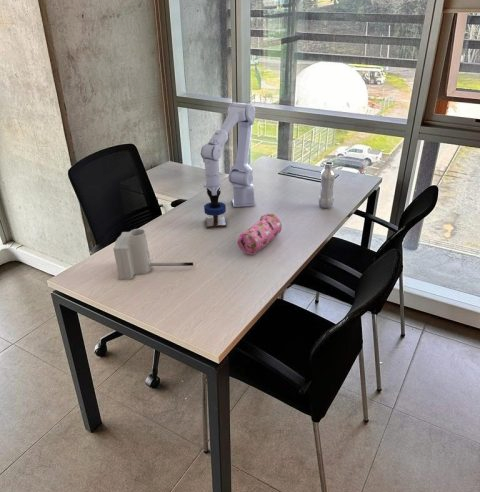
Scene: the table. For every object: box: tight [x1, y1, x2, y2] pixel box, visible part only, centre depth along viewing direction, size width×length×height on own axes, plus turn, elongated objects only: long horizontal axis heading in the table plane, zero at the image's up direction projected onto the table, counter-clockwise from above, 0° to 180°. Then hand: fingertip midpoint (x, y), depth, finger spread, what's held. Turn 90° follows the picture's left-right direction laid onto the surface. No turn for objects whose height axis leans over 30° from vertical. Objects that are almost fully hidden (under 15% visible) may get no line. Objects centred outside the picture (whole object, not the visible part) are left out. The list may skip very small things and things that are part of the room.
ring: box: [203, 201, 227, 217], centre depth 189 cm, size 9×9×2 cm
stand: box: [205, 215, 227, 229], centre depth 191 cm, size 8×8×6 cm
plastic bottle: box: [318, 161, 336, 209], centre depth 199 cm, size 6×7×20 cm
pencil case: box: [237, 213, 283, 256], centre depth 174 cm, size 21×9×9 cm, turn 150°
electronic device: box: [113, 228, 194, 280], centre depth 158 cm, size 12×26×15 cm, turn 88°
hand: (214, 205), depth 192 cm, fingers closed on ring, 2 cm apart
